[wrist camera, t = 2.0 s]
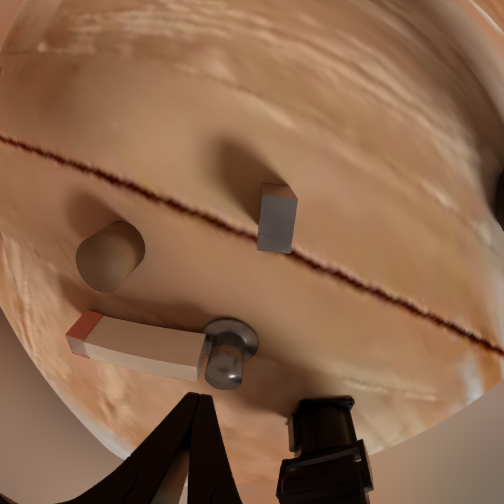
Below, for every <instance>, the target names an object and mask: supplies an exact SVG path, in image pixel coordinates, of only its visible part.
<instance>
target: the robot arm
mask: <svg viewBox="0 0 504 504" xmlns="http://www.w3.org/2000/svg"><path fill="white" fill-rule="evenodd" d="M354 403H355V402H354V399H352V398H351V399H328V400H301V401H299V403H298V405H297V408H296V411H295V413H293V414H292V415H291V418H290V420H289V423H288V434H289V451H290V452H294V453H295V458H293V459H283V460H282V465H281V467H280V473H279V479H278V485H277V491H276V497H277V498H278V500H279V503H280V504H370V500H369V495H368V492H370V491H373V490H374V484H373V477H372V470H371V466H370V461H369V457H368V453H367V450H366V447H365V444H364V441H363V439H360V440H358V441H357V438H356V433H355V429H354V425H353V421H352V417H351V413H350V410H351V408H352V407H353V405H354ZM130 456H131V457H130ZM130 456H129V457H128V458H127V459H126V460H125V461H124V462H123V463H122V464H121V465H120V466H119V467H117V468H116V469H115V470H114V471H113V472H112V473H111V474H109V475H108V476H107V477H105V478H104V479H103V480H102V481H100V482H99V483H97V484H96V485H95V486H93V487H92V488H90V489H89V490H87V491H86V492H84V493H83V494H81V495H80V496H78V497H76V498H75V499H72V500H69V501H66V502H62V503H56V504H179V500H180V497H181V494H182V490H183V487H184V484H185V480H186V477H187V474H188V497H187V498H188V499H187V504H243V503H242V501H241V499H240V496H239V494H238V491H237V488H236V485H235V481H234V478H233V477H232V476H233V475H232V472H231V468H230V465H229V461H228V458H227V454H226V451H225V447H224V443H223V439H222V435H221V431H220V428H219V424H218V419H217V415H216V411H215V407H214V403H213V398H212V396H211V395H207V394H199V393H194V392H188V393H187V394H186V395H185V396H184V397H183V398H182V399H181V401H180V402H179V403H178V404H177V405H176V406H175V407H174V408H173V409H172V411H171V412H170V413H169V414H168V415H167V416H166V417H165V418H164V419H163V420H162V422H161V423H160V424H159V425H158V426H157V427H156V428H155V429H154V430H153V431H152V432H151V434H150V435H149V436H148V437H147V438H146V439H145V440H144V441H143V442H142V443H141V444H140V445H139V446H138V447H137V448H136V449H135V450H134V451H133V453H132V454H131V455H130ZM360 459H361V461H358V462H356V461H357V460H360ZM188 470H189V473H188ZM0 504H18V503H16V502H14V501H12V500H11V499H9V498H8V497H6V496H4V495H3V494H1V493H0Z"/></svg>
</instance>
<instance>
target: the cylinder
mask: <svg viewBox="0 0 504 504" xmlns="http://www.w3.org/2000/svg"><path fill="white" fill-rule="evenodd" d="M144 254H145V244H144V240H143V238H142V236H141V234H140V233H139V231H138V230H137V229H136V228H135V227H134V226H133V225H131V224H129V223H127V222H123V221H117V222H114V223H112V224H110V225H108V226H107V227H105V228H103V229H102V230H100V231H99V232H97V233H95V234H94V235H92V236H91V237H89V238H88V239H86V240H85V241H83V242H82V243H81V244H80V245H79V247H78V249H77V252H76V264H77V268H78V270H79V273H80V275H81V276H82V278H83V279H84V280H85V282H86V283H87V284H88V285H89V286H91V287H92V288H94V289H95V290H98V291H100V292H112V291H114V290H116V289H117V288H118V287H119V286H120V284H121V283H122V282H123V281H124V280H125V279H126V278H127V277H128V276H129V275H130V273H131V272H132V271H133V270H134V269H135V268H136V267H137V266H138V265H139V264H140V263H141V261H142V260H143V258H144Z"/></svg>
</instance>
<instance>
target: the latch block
mask: <svg viewBox="0 0 504 504" xmlns="http://www.w3.org/2000/svg"><path fill="white" fill-rule="evenodd" d="M297 201H298V199H297V197H296V195H295V194H294V192H293V191H292V189H291V188H290V186H284V185H275V184H265V183H263V185H262V195H261V206H260V216H259V226H258V241H257V250H260V251H270V252H280V253H290V251H291V244H292V237H293V230H294V223H295V216H296V209H297Z"/></svg>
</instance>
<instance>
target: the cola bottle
mask: <svg viewBox="0 0 504 504" xmlns="http://www.w3.org/2000/svg"><path fill="white" fill-rule="evenodd" d="M496 210H497V216H498V220H499V223H500V225H501V227H502V229H503V231H504V171H503V173H502V175H501V177H500V180H499V183H498V188H497V194H496Z"/></svg>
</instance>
